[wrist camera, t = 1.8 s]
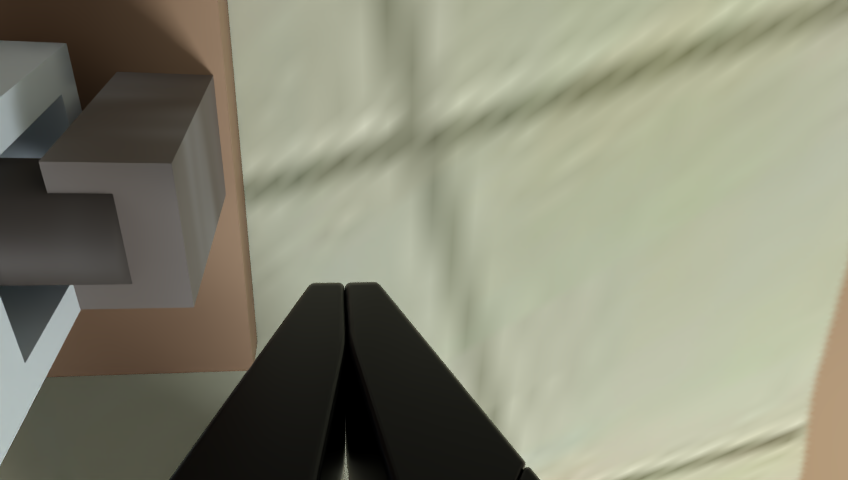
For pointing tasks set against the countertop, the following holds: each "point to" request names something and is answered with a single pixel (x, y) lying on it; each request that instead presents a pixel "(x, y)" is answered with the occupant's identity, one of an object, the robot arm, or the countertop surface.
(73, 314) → the white sleeve
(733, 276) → the countertop surface
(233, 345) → the dumbbell on board
